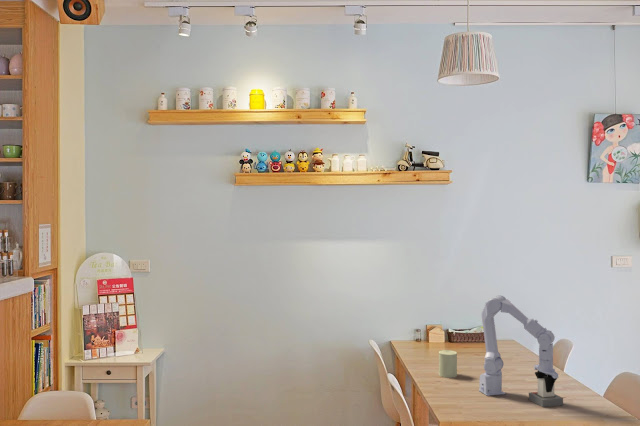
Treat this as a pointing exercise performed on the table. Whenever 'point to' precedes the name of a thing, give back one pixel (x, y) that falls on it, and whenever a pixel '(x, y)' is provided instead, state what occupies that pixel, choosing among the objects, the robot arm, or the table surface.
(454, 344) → the table surface
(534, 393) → the socket
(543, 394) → the plug
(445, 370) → the can
